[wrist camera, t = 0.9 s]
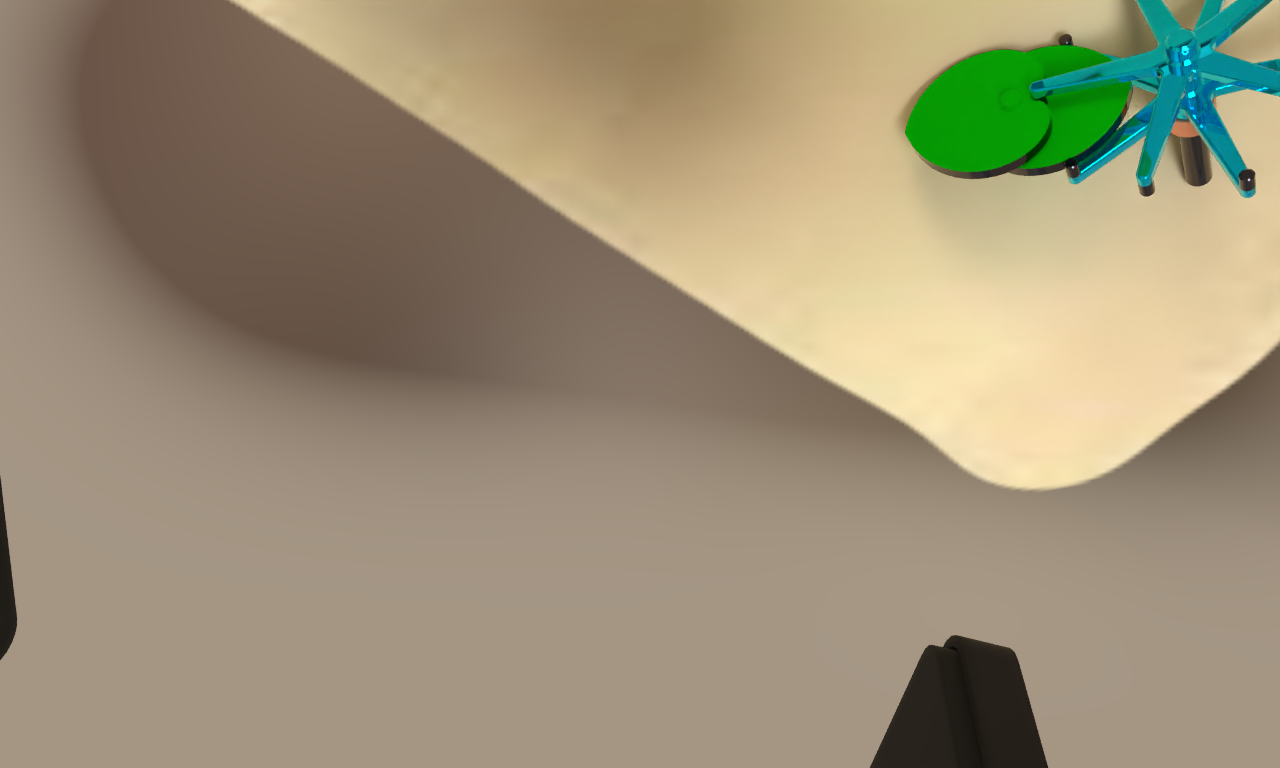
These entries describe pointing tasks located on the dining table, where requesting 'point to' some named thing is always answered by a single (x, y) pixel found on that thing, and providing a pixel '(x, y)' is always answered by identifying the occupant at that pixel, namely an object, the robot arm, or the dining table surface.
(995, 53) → the stick construction toy
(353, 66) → the dining table surface
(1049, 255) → the dining table surface
